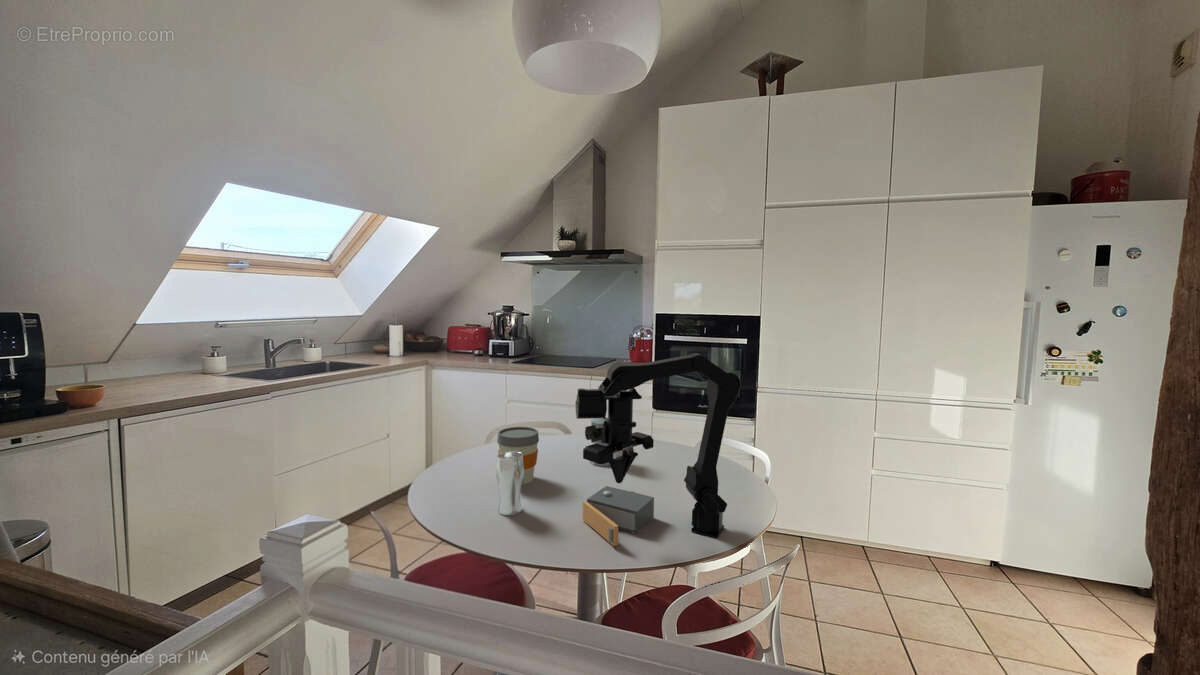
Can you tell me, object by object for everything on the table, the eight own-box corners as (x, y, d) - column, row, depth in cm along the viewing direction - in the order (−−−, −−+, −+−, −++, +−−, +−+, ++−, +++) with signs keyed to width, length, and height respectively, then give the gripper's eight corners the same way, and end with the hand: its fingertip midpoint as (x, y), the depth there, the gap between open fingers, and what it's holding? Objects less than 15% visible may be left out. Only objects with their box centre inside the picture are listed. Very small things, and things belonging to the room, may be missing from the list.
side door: (617, 545, 111) (618, 525, 111) (611, 546, 110) (612, 527, 110) (586, 518, 124) (586, 501, 124) (580, 520, 123) (580, 502, 123)
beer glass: (511, 502, 134) (511, 449, 133) (528, 510, 130) (529, 454, 128) (491, 511, 129) (490, 455, 127) (508, 519, 124) (508, 461, 123)
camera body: (656, 514, 128) (657, 492, 127) (636, 534, 117) (636, 509, 117) (609, 502, 135) (609, 481, 134) (586, 520, 124) (586, 496, 124)
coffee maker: (583, 458, 171) (584, 407, 170) (606, 455, 175) (606, 405, 174) (601, 472, 158) (602, 417, 156) (625, 468, 162) (626, 415, 160)
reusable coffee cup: (517, 491, 142) (517, 440, 141) (488, 480, 149) (488, 432, 148) (547, 478, 152) (547, 431, 151) (519, 469, 159) (519, 424, 158)
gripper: (621, 405, 126) (620, 464, 128) (567, 417, 113) (566, 483, 114) (655, 413, 118) (654, 476, 120) (601, 427, 105) (600, 497, 107)
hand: (618, 482), depth 115 cm, fingers closed
